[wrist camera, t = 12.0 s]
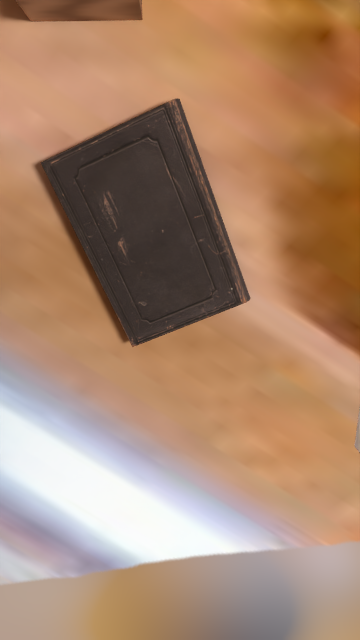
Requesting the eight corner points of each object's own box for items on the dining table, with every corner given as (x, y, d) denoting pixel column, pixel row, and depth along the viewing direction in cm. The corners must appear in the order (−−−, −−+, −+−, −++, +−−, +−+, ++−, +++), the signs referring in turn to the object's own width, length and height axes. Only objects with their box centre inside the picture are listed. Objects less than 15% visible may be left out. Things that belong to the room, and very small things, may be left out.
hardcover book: (134, 340, 43) (132, 347, 41) (48, 165, 37) (40, 162, 34) (247, 295, 42) (252, 300, 39) (179, 103, 35) (179, 96, 33)
